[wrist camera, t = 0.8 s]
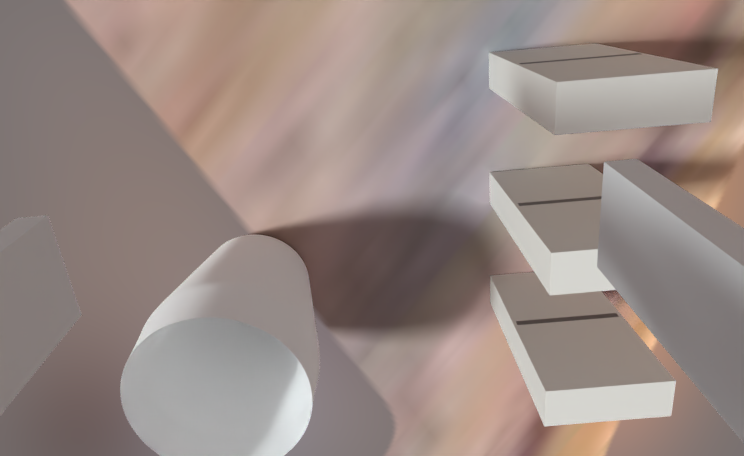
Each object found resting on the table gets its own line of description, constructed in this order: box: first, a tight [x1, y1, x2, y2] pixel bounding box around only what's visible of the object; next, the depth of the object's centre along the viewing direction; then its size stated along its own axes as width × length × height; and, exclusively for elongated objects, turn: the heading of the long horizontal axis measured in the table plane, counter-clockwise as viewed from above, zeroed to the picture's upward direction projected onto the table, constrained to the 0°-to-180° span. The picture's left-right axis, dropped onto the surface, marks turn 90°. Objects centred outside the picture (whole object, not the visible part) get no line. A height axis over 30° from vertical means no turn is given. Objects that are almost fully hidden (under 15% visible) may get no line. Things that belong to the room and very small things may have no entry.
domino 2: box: [490, 164, 616, 295], centre depth 30 cm, size 2×6×12 cm, turn 95°
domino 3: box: [490, 272, 676, 426], centre depth 33 cm, size 2×6×12 cm, turn 95°
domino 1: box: [489, 43, 718, 135], centre depth 28 cm, size 2×6×12 cm, turn 95°
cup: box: [120, 234, 320, 456], centre depth 32 cm, size 9×9×12 cm
